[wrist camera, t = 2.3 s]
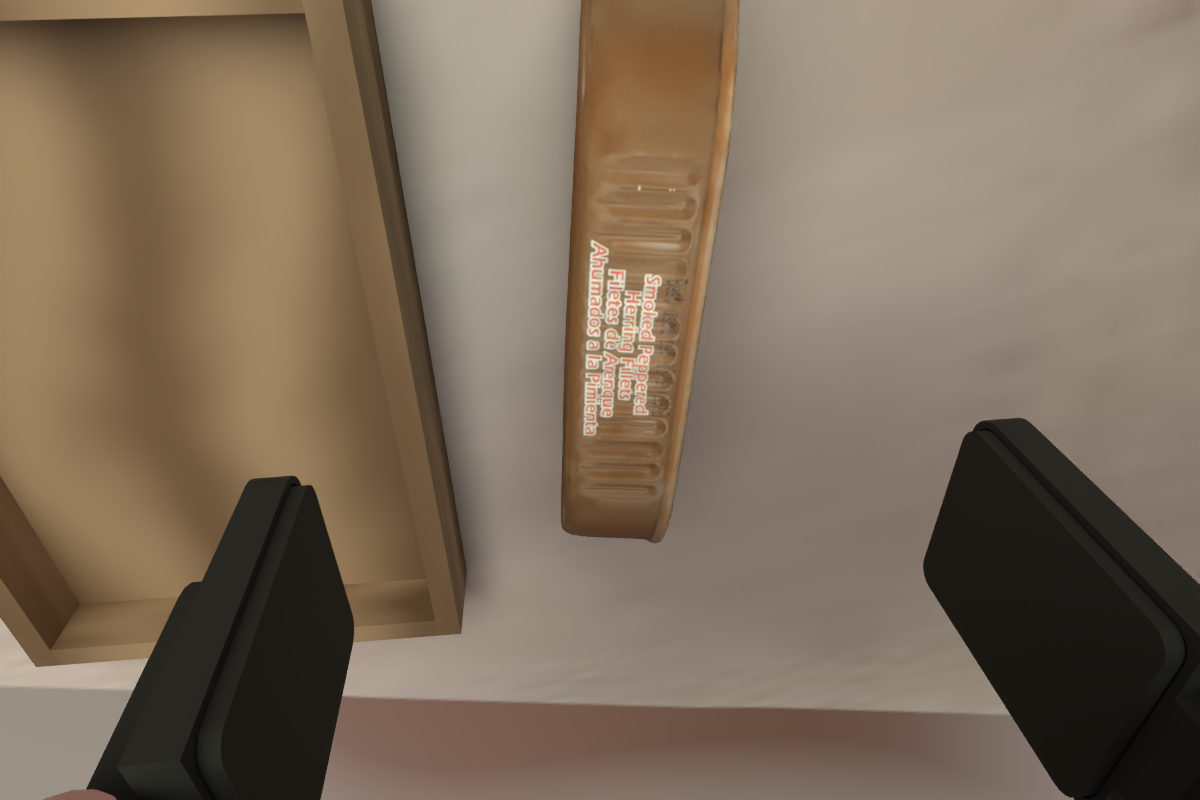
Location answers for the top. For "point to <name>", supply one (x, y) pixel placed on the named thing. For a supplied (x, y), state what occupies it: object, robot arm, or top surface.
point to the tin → (640, 250)
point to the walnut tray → (206, 316)
